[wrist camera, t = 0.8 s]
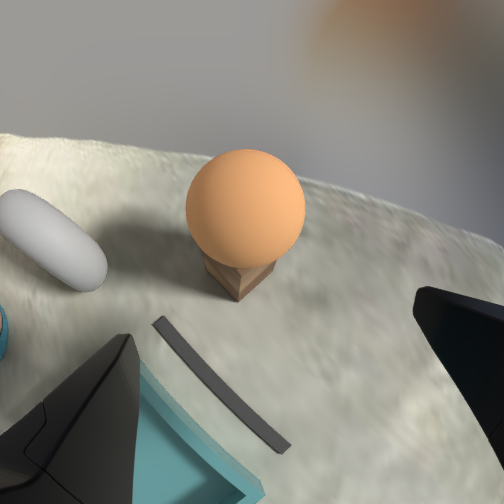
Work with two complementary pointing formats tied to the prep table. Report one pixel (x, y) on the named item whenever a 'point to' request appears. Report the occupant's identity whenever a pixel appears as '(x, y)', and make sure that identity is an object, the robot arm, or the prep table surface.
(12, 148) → the prep table surface
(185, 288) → the prep table surface
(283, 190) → the ball
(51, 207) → the donut
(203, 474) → the tray
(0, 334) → the cup
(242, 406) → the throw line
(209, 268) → the tee
